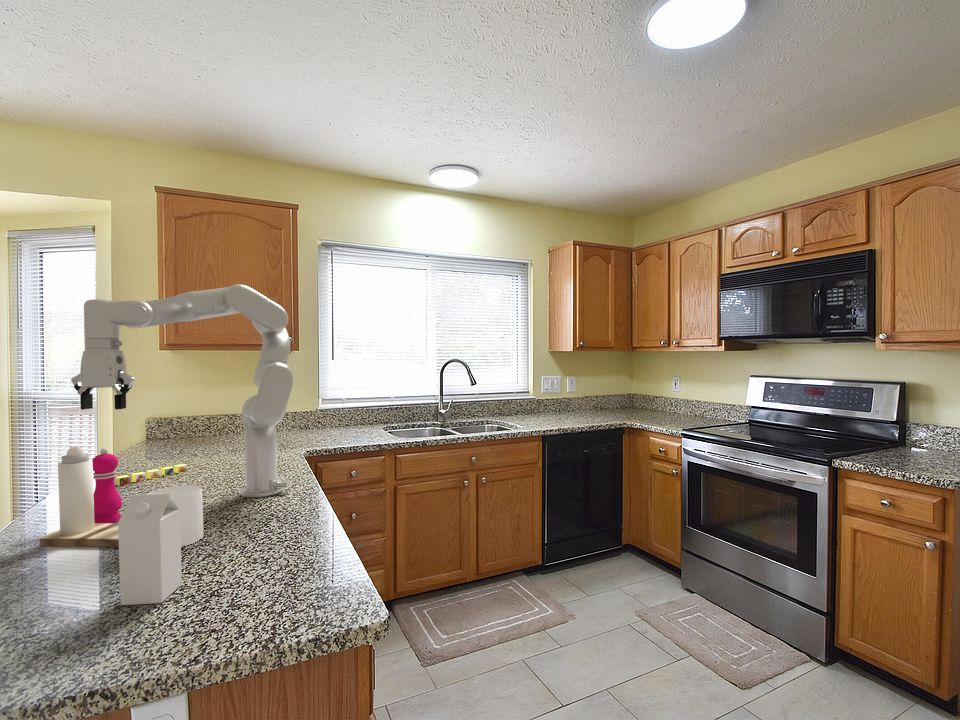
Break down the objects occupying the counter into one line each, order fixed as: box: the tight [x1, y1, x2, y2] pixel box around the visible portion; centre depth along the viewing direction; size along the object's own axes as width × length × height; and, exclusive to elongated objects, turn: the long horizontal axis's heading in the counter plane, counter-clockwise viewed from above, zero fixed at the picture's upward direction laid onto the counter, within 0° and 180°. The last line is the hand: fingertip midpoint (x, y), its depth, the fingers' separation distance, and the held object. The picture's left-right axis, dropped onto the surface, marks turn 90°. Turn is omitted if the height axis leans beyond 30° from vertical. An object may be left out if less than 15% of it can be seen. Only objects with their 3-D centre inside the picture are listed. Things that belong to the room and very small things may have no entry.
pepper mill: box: [91, 447, 123, 523], centre depth 135 cm, size 7×7×20 cm
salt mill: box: [57, 445, 95, 535], centre depth 122 cm, size 7×7×21 cm
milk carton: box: [117, 493, 183, 606], centre depth 93 cm, size 7×7×19 cm
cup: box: [147, 484, 204, 548], centre depth 120 cm, size 12×12×12 cm
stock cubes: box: [114, 463, 188, 487], centre depth 181 cm, size 32×32×3 cm
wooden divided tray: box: [39, 522, 119, 548], centre depth 122 cm, size 22×10×2 cm, turn 86°
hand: (103, 408), depth 134 cm, fingers open, 9 cm apart
